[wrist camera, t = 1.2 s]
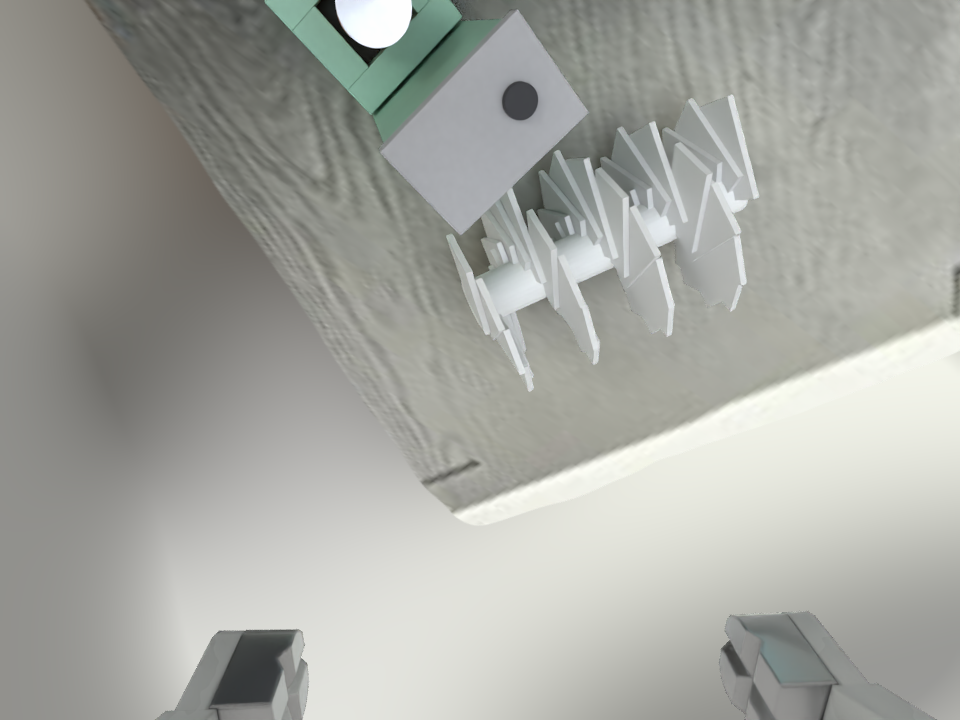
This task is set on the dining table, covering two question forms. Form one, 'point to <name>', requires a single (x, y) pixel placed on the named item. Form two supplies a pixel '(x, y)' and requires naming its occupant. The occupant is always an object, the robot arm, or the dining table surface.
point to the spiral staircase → (620, 230)
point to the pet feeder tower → (476, 116)
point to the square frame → (392, 63)
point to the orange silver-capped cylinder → (374, 20)
